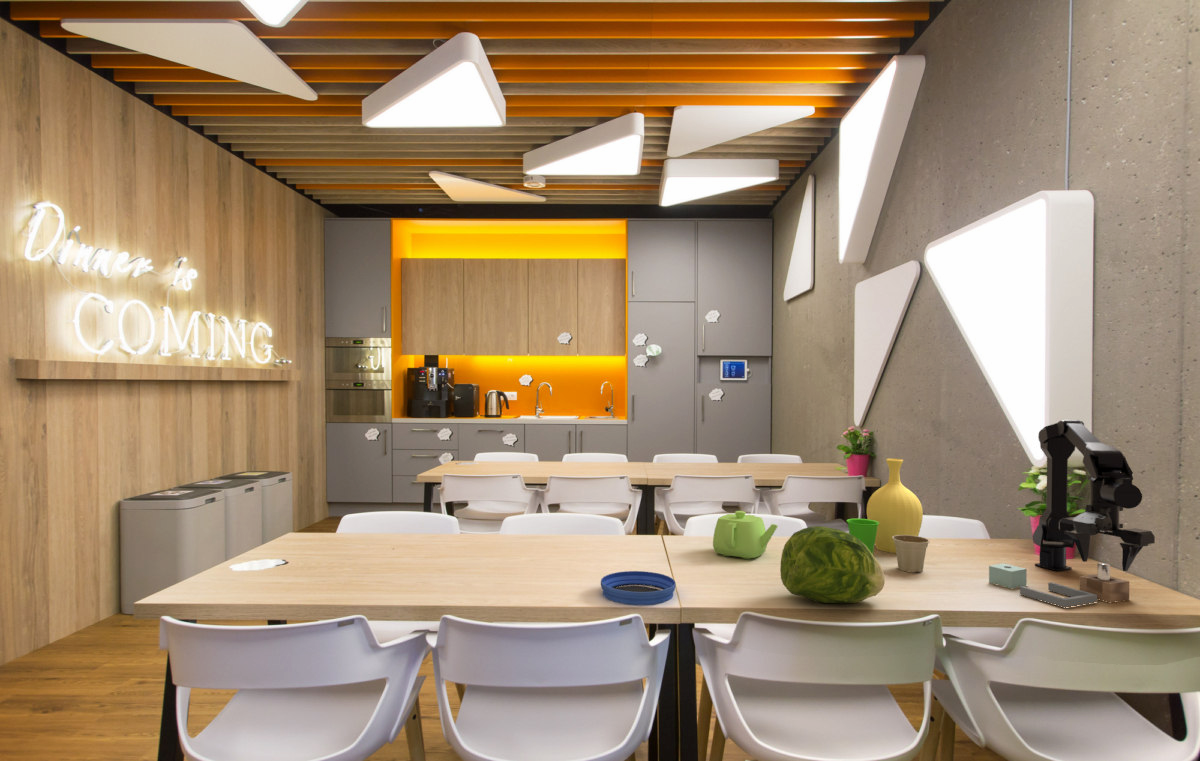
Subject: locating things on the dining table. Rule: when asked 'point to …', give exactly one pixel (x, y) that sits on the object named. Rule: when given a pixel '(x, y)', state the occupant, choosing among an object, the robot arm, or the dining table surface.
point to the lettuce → (830, 566)
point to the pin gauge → (1104, 571)
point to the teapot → (741, 535)
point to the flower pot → (910, 552)
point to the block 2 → (1105, 588)
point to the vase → (894, 510)
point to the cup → (864, 531)
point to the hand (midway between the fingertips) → (1104, 566)
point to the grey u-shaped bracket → (1075, 599)
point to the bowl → (637, 587)
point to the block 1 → (1008, 575)
